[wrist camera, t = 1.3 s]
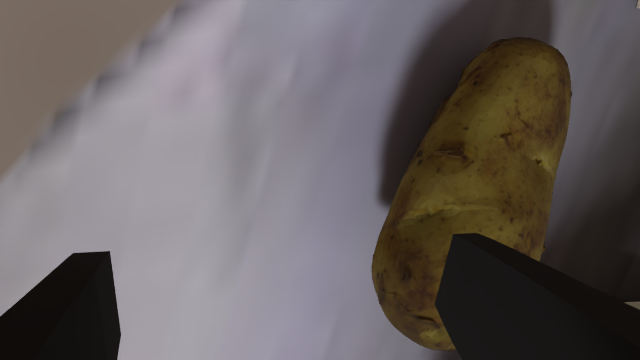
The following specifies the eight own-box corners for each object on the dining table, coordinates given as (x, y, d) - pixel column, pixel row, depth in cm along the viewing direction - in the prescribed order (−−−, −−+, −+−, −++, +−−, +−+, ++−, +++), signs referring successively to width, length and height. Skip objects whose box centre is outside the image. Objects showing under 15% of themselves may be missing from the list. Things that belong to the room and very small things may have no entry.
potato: (575, 137, 22) (742, 183, 15) (399, 297, 23) (470, 414, 16) (491, 15, 20) (643, -6, 12) (296, 203, 21) (324, 291, 13)
